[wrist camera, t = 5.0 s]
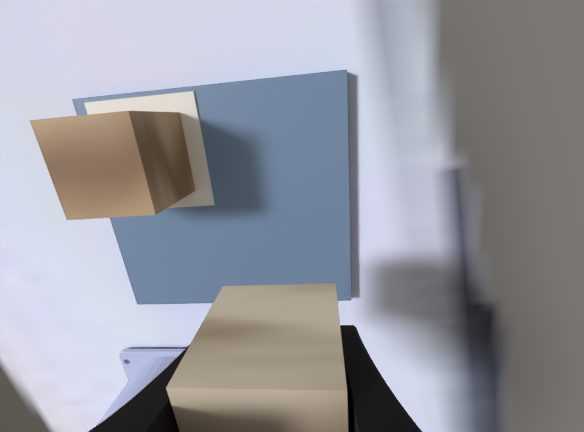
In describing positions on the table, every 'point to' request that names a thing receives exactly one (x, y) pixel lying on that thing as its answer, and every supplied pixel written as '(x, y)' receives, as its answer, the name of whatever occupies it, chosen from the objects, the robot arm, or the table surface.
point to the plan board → (245, 189)
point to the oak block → (116, 162)
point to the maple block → (264, 363)
